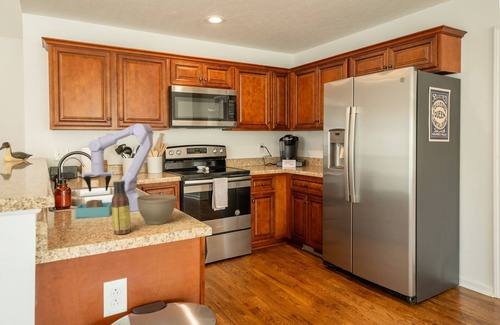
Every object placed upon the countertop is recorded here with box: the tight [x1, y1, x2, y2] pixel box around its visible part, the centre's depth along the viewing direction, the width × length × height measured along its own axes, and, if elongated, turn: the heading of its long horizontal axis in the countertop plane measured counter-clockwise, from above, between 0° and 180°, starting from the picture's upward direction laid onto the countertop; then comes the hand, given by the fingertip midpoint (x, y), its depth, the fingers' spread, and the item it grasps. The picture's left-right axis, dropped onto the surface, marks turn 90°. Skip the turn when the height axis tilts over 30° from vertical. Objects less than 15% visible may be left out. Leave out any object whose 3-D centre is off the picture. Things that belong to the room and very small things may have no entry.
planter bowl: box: [137, 193, 177, 225], centre depth 146 cm, size 16×16×11 cm
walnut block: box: [85, 199, 103, 208], centre depth 160 cm, size 5×5×6 cm
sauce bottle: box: [111, 179, 132, 236], centre depth 128 cm, size 6×6×20 cm
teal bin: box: [74, 201, 112, 219], centre depth 160 cm, size 14×12×4 cm
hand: (98, 190), depth 172 cm, fingers open, 7 cm apart
